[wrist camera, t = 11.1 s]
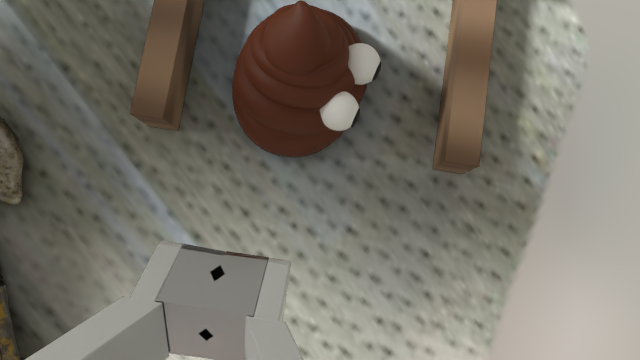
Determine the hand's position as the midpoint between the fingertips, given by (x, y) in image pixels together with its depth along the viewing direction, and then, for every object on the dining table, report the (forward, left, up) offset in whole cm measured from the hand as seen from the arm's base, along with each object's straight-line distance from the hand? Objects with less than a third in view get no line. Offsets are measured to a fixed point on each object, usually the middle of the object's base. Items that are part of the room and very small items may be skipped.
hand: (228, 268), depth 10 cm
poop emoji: (+9, +6, -19) cm, 22 cm away
